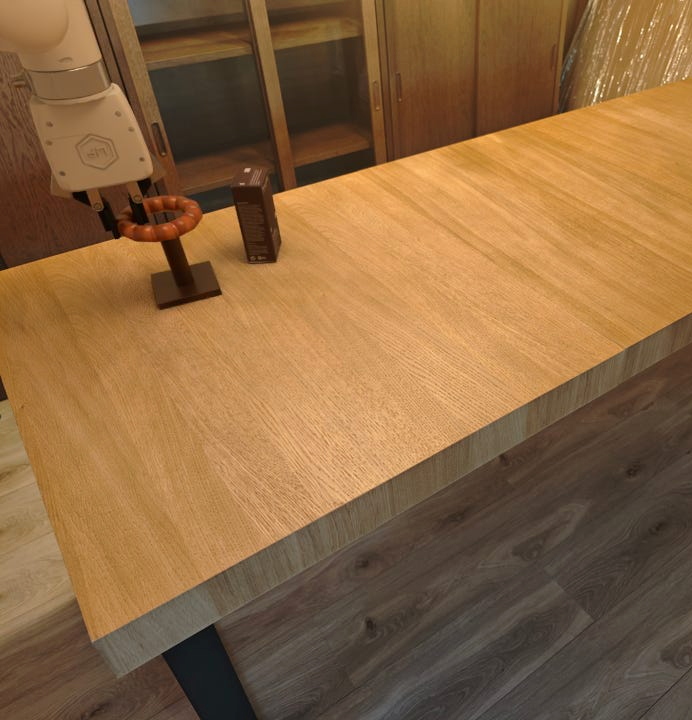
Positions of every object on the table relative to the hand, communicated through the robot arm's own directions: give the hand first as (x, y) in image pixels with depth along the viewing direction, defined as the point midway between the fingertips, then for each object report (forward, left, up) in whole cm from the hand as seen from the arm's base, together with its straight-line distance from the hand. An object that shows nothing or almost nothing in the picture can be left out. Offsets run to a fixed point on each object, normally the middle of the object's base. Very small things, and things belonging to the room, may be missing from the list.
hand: (129, 230), depth 81 cm
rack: (+4, 0, -10) cm, 11 cm away
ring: (+4, 0, +1) cm, 4 cm away
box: (+16, +4, -10) cm, 19 cm away
